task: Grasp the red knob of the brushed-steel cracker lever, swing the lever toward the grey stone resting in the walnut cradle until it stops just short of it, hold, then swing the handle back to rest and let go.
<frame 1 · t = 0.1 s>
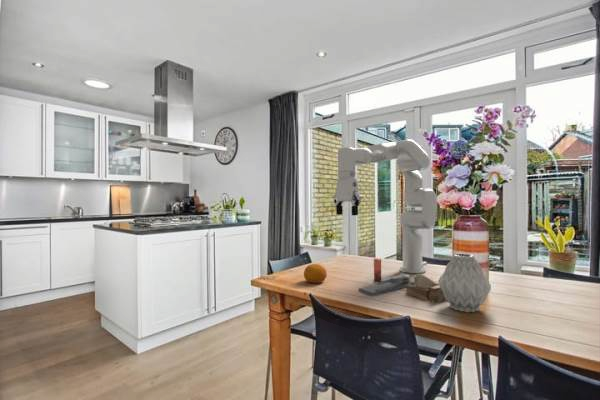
hand: (346, 214, 139), 31 cm above the table, fingers open, 9 cm apart
vase: (464, 309, 109), on the table
flat grey bar: (404, 283, 140), on the table
cradle: (426, 293, 126), on the table
fruit: (315, 282, 146), on the table
stone: (426, 294, 126), resting in cradle
lever: (393, 269, 135), point 7 cm above the table, hinge at 0.0°
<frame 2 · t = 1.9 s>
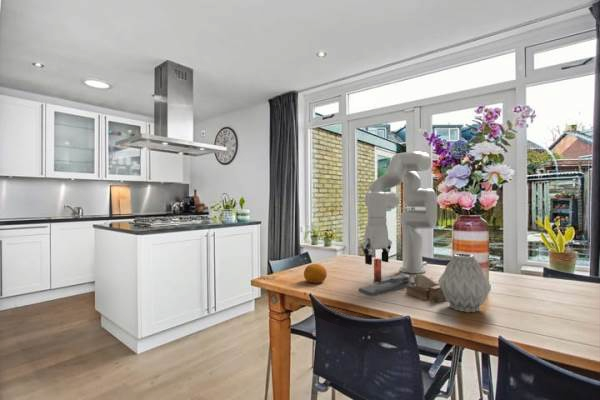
hand: (376, 262, 130), 12 cm above the table, fingers open, 9 cm apart
nothing on the table moved.
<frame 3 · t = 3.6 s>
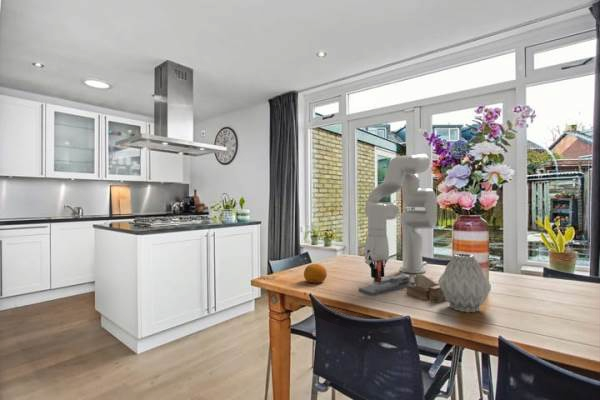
hand: (377, 276, 131), 6 cm above the table, fingers closed on lever, 3 cm apart
lever: (393, 269, 135), point 7 cm above the table, hinge at 0.0°, touching gripper
everything else where it was.
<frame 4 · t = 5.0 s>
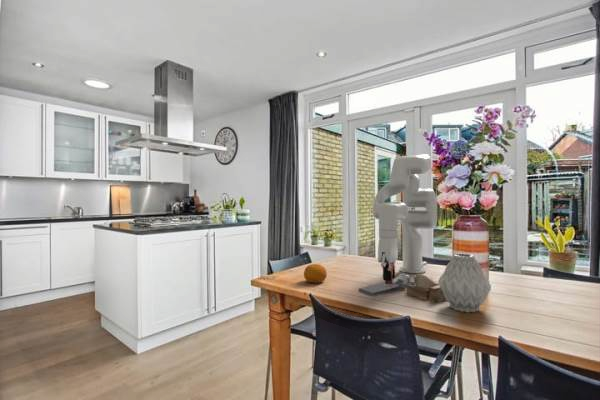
hand: (389, 279, 127), 6 cm above the table, fingers closed on lever, 3 cm apart
lever: (398, 270, 134), point 8 cm above the table, hinge at 17.8°, touching gripper
everything else where it was.
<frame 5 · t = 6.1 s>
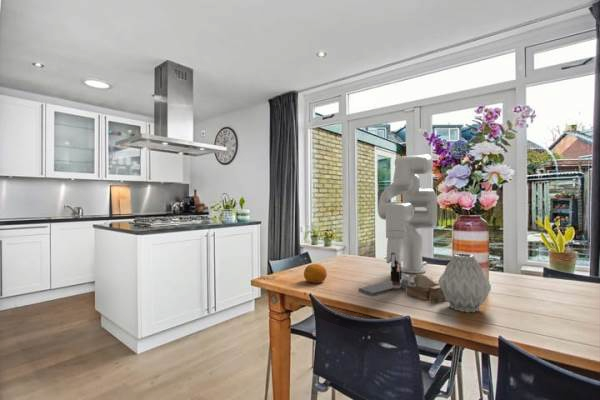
hand: (396, 279, 125), 6 cm above the table, fingers closed on lever, 3 cm apart
lever: (402, 270, 133), point 7 cm above the table, hinge at 27.7°, touching gripper
everything else where it was.
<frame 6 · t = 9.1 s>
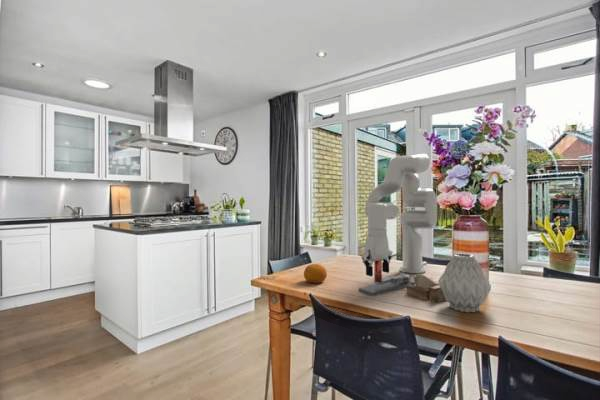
hand: (377, 273, 131), 7 cm above the table, fingers open, 9 cm apart
lever: (393, 269, 135), point 7 cm above the table, hinge at 0.8°
everything else where it was.
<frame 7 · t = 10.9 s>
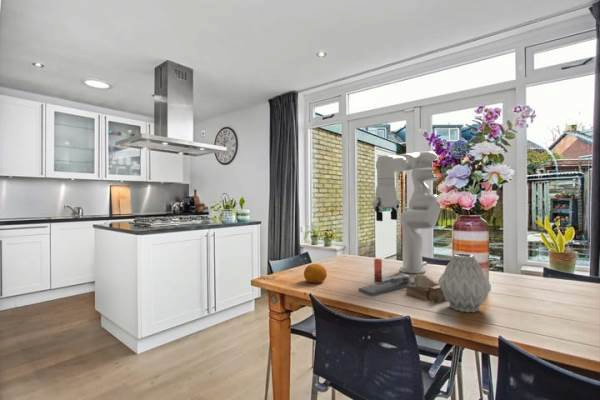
hand: (386, 220, 144), 28 cm above the table, fingers open, 9 cm apart
nothing on the table moved.
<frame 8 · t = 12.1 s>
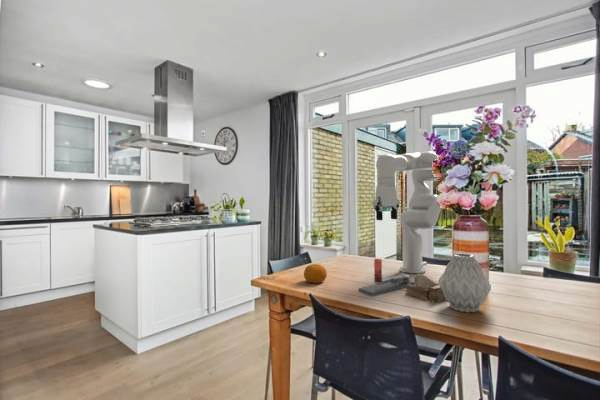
hand: (386, 219, 144), 28 cm above the table, fingers open, 9 cm apart
nothing on the table moved.
at the end: lever at +1° (first picture: +0°); the gripper is holding nothing; stone moved 0.1 cm from its start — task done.
